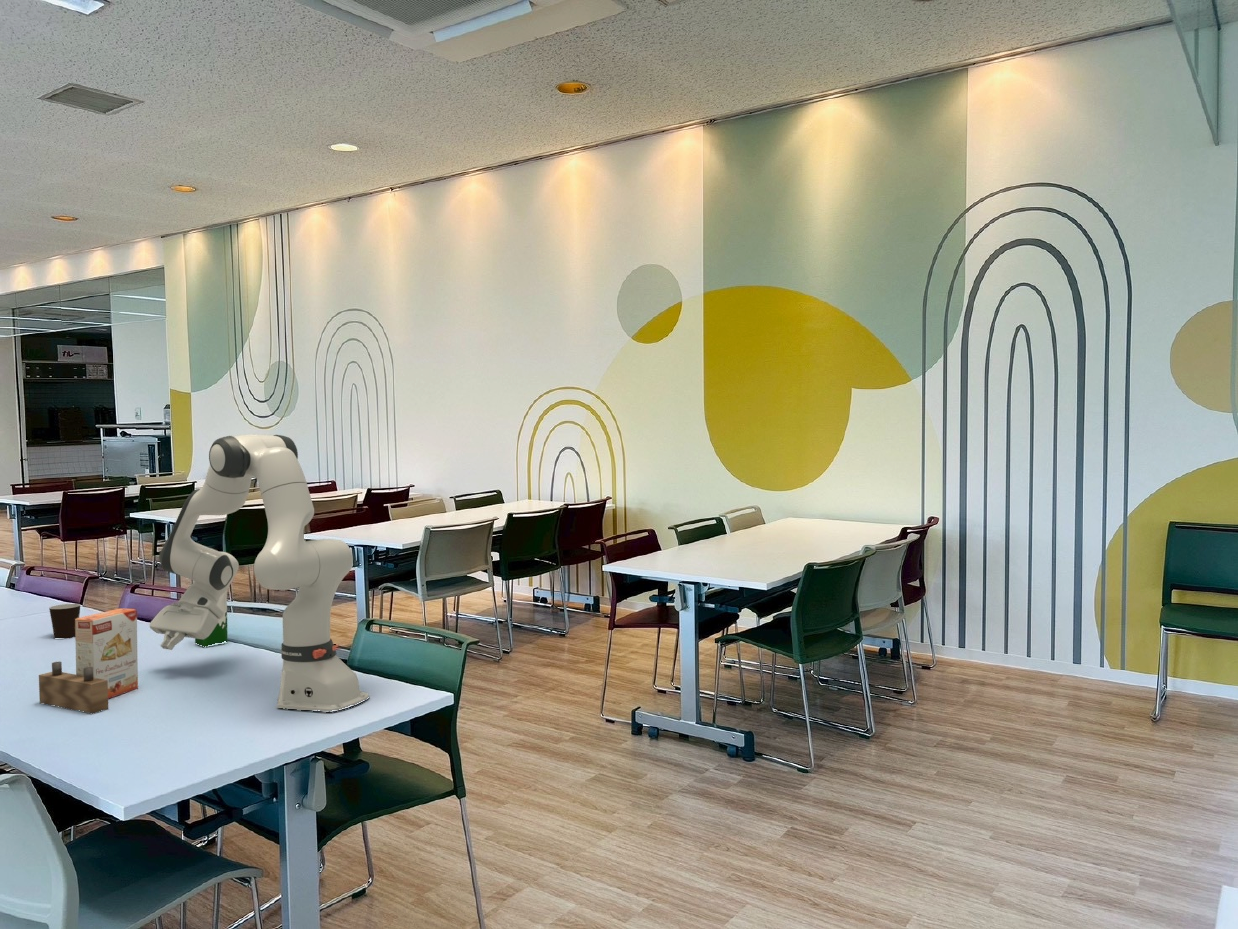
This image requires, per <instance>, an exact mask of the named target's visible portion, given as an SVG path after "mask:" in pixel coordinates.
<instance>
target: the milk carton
mask: <svg viewBox="0 0 1238 929" xmlns="http://www.w3.org/2000/svg"><path fill="white" fill-rule="evenodd" d="M227 600H228V589H227V590H226V591H225V593H223V594H222V595H221V596H220V598H219V600H218V603H217V606H218V607H219V608H220V609H221V610H222V611H223V612H224V615H223V617H222V618H221V619H218V623H217V625H216V627H215V628H214V630H213V631H212V633H211V634H210V635H209V636H208V637H207V638H205V639H196V638H194V643H197V644H199V645H202V646H204V647H205V646H208V645H212V644H215V643H222V642H224V641H226V642H228V641H229V640H228V601H227ZM199 645H198V646H199ZM204 647H203V648H204Z"/></svg>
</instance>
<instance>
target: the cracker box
mask: <svg viewBox="0 0 1238 929" xmlns="http://www.w3.org/2000/svg"><path fill="white" fill-rule="evenodd" d="M74 638H75V673H76V674H75V675H81V676H84V673H83V668H86V667H93V678H98V679H104V680H107V681H108V699H110V698H111V699H112V698H114V697H117V696H119V695H122V694H125V693H128V692H131V691H134V690H137V689H139V679H138V676H139V674H138V673H139V672H138V671H139V670H138V669H139V668H138V660H139V659H138V611H137V609H134V608H123V607H122V608H116V609H112V610H111V609H110V610H107V611H102V612H99V613H95V614H90V615H87V616H82V617H79V618H77V619H75V637H74Z"/></svg>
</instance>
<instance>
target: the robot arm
mask: <svg viewBox="0 0 1238 929" xmlns="http://www.w3.org/2000/svg"><path fill="white" fill-rule="evenodd" d="M298 458H299V454H298V448H297V445H296V444H295V442H294V440H293V439H292V438H290V437H288V436H285V435H281V434H273V435H271V434H270V435H269V434H255V433H251V434H241V435H233V436H232V435H227V436H223V437H219V438H217V439H215V440H214V441H213V442H212V444H211V446H210V448H209V451H208V460H209V466H208V470H207V472H206V475H205V481H204V483H203V485H202V487H200V488H197V489H195V490H193V491H192V492H191V493H190V494H189V496H188V497H187V498H186V500H185V502H184V503H183V504H182V505H183V506H182V507H181V509H180V512H179V514H178V516H177V518H176V519H175V520H176V521H175V523H174V524H173V527H172V530H171V532H170V534H169V537H168V538H167V540H166V541H165V543H164V545H163V546H162V548H161V551H160V553H159V555H158V560H159V563H160V566H161V568H162V569H163V570H164V571H165V572H168V573H171V574H175V575H178V576H181V577H183V578H187V579H188V580H190V581H194V582H193V583H191V585H189V586H188V588H186V590H185V592H184V593H183V594H182V596H181V597H180V599H178V601H177V602H172V603H171V604H168V605H166V606H164V607H163V608H162V609H161V610H159V612H158V613H157V614H156V615H155V617H154V618H153V619H152V620H151V621H150V623H149V628H150V630H152V631H153V632H154V633H156V634H160V635H163V636H164V637H163V641H162V642H161V643H160V647H161V648H162V649H164V650H170V651H172V650H173V649H174V648H175V647H176V645H178V644H179V643H180V642H182V641H183V640H184V638H190V639H195V638H196V639H205V638H207V637H208V636H209V635H210V634H211V633H212V631H213V630H214V628H215V627H216V625H217V623H218V619H221V618H222V617H223V615H224V612H223V611H222V610H221V609H220V608H219V607H218V606H217V603H218V600H219V598H220V596H221V595H222V594H223V593H225V591H226V590H227V591H228V589H229V587H230V585H231V584H232V582H233V580H234V578H235V577H236V575H237V573H238V570H239V566H240V565H239V561H238V560H237V559H236V558H235V556H233V555H232V554H230V553H229V552H225V551H218V550H217V549H214V548H212V547H208V546H206V545H202V544H200V543H199V542H195V541H194V540H193V538H192V537H191V536H192V533H193V530H195V529H194V528H195V526H196V524H197V522H198V519H199V517H200V516H226V515H229V514H233V513H235V512H237V511H239V510H240V509H242V507H243V506H244V505H245V504H246V501H247V499H248V495H249V492H250V489H251V484H252V483H251V482H252V478H256V480H257V482H258V488H259V491H260V492H259V493H260V494H261V499H262V504H263V506H264V511H265V516H266V519H267V538H266V540H265V544H264V546H263V548H262V550H261V551H259V553H258V554H257V557H255V560H254V563H253V574H254V577H255V579H256V581H257V582H258V584H259V585H260V586H261V587H263V589H266V590H271V591H272V590H273V591H274V590H277V591H288V590H292V589H297V588H298V591H297V592H296V593H297V594H296V596H295V598H294V599H293V600H292V601H291V602H290V603H289V604H288V605H287V606H286V607H285V608H284V611H283V613H282V643H281V647H280V648H281V649H280V652H281V653H280V654H281V657H280V658H281V659H282V662H283V663H282V669H281V673H280V674H281V675H280V687H279V693H278V697H277V699H276V700H277V701H278V702H277V701H276V702H277V706H276V709H278V708H283V709H282V710H288V709H297V710H296V711H301V710H317V711H318V710H320V711H332V710H339V709H342V708H345V707H348V706H350V705H355V704H357V703H359V702H361V701H363V700H366V699H367V698H368V697H369V698H370V694H369V693H368V692H364V691H361V690H360V685H359V678H358V676H357V674H356V672H354V671H353V669H351V668H350V667H349V666H348V665H346V663H344V662H343V661H342V659H341V658H340V657H338V656H337V650H340V644H337V645H334V642H333V639H332V638H331V616H332V614H331V613H332V612H331V611H332V606H333V601H334V598H335V595H336V592H337V590H338V588H339V586H340V584H341V583H342V581H343V580H344V578H345V577H346V576H347V575H348V574H349V573H350V572H351V569H352V566H353V561H354V558H353V557H354V556H353V553H352V549H351V548H350V547H349V545H348V544H347V543H346V542H345V541H343V540H340V539H333V538H320V539H313V540H305V536H304V532H305V527H306V526H307V525H308V524H309V523H310V522H311V520H312V519H313V517H314V515H315V507H314V504H313V501H312V497H311V493H310V491H309V486H308V483H307V479H306V477H305V474H304V471H303V469H302V466H301V465H300V462H299V459H298ZM285 708H287V709H285Z"/></svg>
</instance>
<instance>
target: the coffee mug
mask: <svg viewBox="0 0 1238 929" xmlns="http://www.w3.org/2000/svg"><path fill="white" fill-rule="evenodd" d="M80 613H81V604H80V603H64V604H63V603H62V604H56V605H52V606H49V615H50V619H51V626H52V632H53V638H54V639H55V638H69V639H73V638H72V637H74V638H75V619H77V618H80Z"/></svg>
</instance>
